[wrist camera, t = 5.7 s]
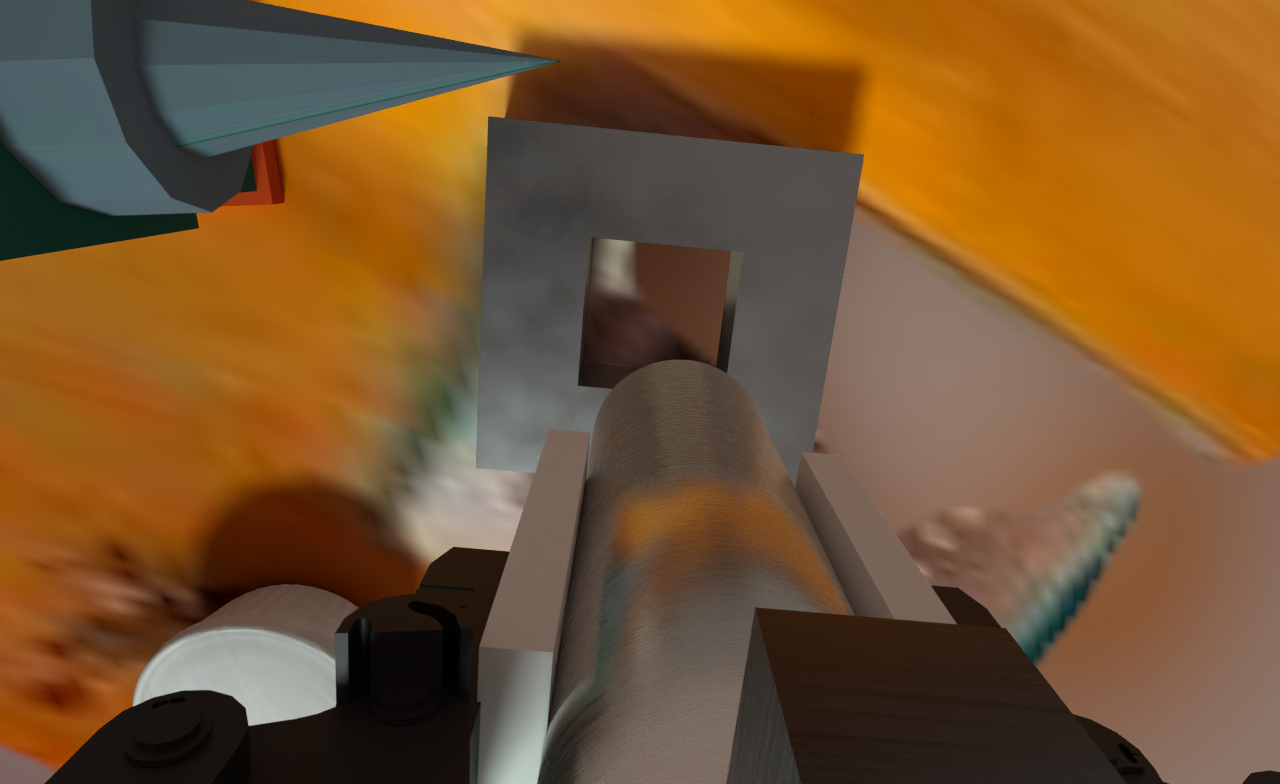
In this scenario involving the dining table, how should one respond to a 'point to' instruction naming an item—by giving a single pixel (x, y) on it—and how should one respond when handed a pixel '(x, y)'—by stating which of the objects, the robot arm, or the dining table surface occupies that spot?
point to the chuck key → (763, 630)
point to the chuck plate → (663, 214)
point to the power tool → (186, 106)
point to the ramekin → (257, 654)
